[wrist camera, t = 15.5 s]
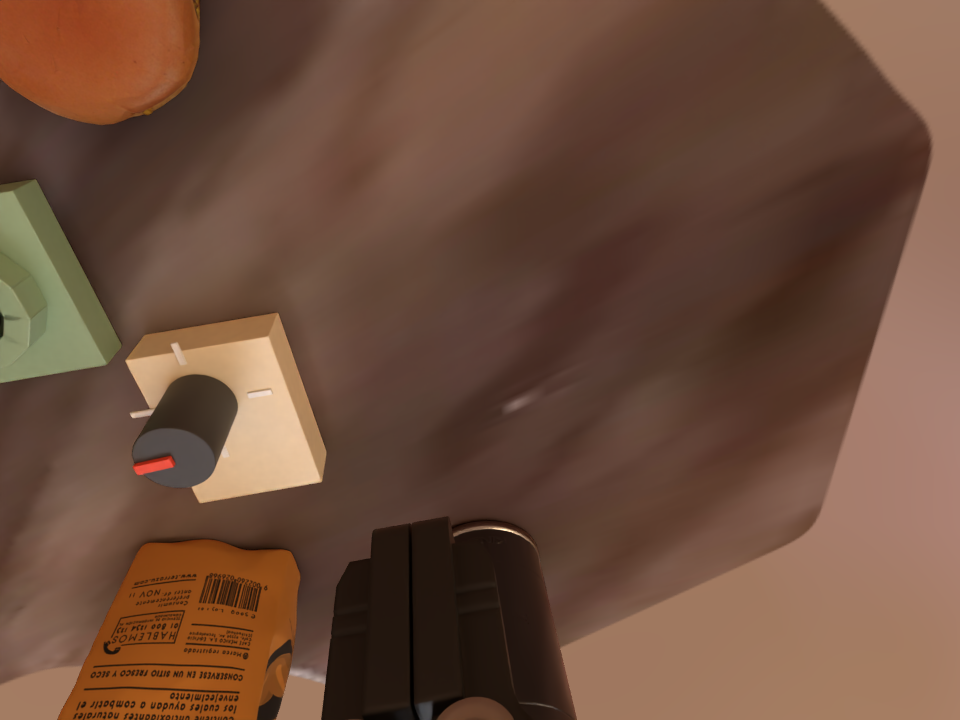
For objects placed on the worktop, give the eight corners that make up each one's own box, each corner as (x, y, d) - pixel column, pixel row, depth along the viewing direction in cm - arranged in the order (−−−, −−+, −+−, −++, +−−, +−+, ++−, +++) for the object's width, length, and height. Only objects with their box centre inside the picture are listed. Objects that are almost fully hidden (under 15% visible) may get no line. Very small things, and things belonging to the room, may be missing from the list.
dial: (221, 367, 34) (193, 423, 30) (248, 422, 36) (226, 482, 32) (152, 382, 34) (113, 441, 30) (184, 436, 36) (152, 499, 32)
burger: (120, 154, 31) (78, 177, 27) (-64, -21, 26) (-147, -25, 22) (260, 22, 28) (237, 26, 25) (84, -193, 24) (21, -231, 20)
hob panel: (327, 452, 42) (321, 484, 39) (195, 475, 42) (181, 508, 39) (275, 303, 36) (264, 328, 33) (121, 328, 36) (98, 356, 33)
